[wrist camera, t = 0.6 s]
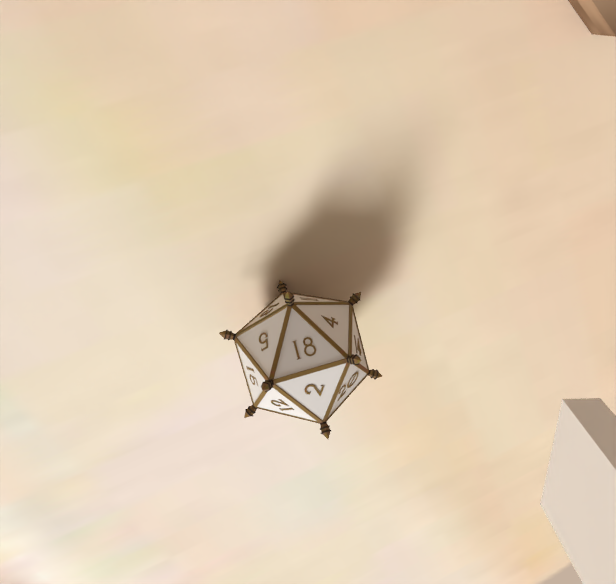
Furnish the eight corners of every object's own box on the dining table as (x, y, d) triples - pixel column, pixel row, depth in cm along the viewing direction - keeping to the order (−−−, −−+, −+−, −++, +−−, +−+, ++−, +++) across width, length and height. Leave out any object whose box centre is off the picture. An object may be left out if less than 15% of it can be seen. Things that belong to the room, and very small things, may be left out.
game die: (292, 269, 39) (399, 257, 31) (323, 384, 40) (434, 400, 32) (176, 310, 33) (270, 309, 26) (216, 441, 35) (318, 478, 27)
